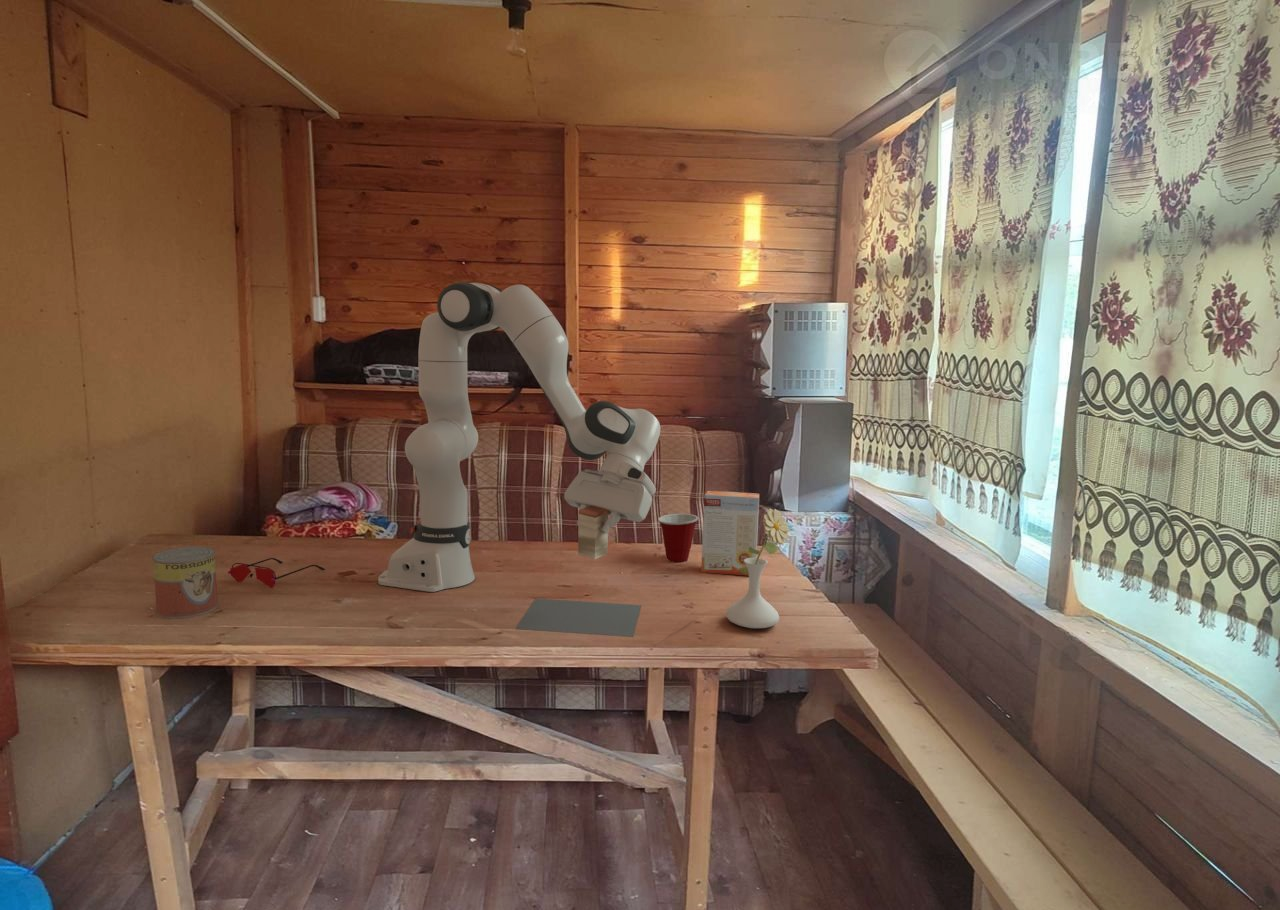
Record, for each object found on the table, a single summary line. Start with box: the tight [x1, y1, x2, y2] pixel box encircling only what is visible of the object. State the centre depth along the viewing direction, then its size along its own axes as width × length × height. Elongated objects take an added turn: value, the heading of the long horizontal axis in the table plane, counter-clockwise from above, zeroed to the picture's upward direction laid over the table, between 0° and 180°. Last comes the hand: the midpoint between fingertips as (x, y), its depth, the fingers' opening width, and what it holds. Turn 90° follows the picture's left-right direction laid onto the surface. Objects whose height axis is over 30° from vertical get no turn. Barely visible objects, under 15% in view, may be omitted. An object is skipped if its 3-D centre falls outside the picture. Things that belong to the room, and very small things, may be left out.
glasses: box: [227, 557, 326, 589], centre depth 183 cm, size 14×16×5 cm
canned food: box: [151, 545, 219, 619], centre depth 159 cm, size 11×11×12 cm
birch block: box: [577, 506, 609, 560], centre depth 162 cm, size 4×4×10 cm
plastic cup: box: [657, 513, 699, 563], centre depth 205 cm, size 11×11×12 cm
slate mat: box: [515, 597, 642, 638], centre depth 161 cm, size 24×18×1 cm
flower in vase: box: [725, 508, 791, 629], centre depth 160 cm, size 13×11×25 cm
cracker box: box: [701, 490, 760, 577], centre depth 196 cm, size 14×6×21 cm, turn 80°
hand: (591, 528), depth 161 cm, fingers closed on birch block, 4 cm apart
